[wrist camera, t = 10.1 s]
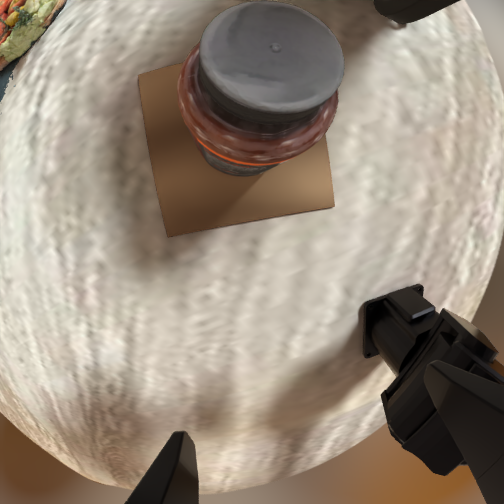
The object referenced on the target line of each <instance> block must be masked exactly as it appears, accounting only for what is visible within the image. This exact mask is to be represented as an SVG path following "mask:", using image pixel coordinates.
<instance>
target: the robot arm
mask: <svg viewBox="0 0 504 504" xmlns="http://www.w3.org/2000/svg"><path fill="white" fill-rule="evenodd" d="M418 289H419V290H418ZM423 291H424V287H423V286H422V285H421V284H416V285H413V286H411V287H406V288H403V289H400V290H398V291H395V292H392V293H389V294H387V295H384V296H381V297H378V298H375V299H372V300H369V301H367V302H366V303H365V305H364V335H363V356H364V357H365V358H370V357H373V356H376V355H378V354H380V355H381V357H382V358H383V359H384V361H385V362H386V363H387V365H388V366H389V368H390V369H391V370H392V372H393V373H394V374H395V376H396V379H395V380H394V381H393V382H392V383H391V385H390V386H389V387H388V388H387V389H386V390H384V391H383V393H382V394H381V399H382V403H383V407H384V411H385V415H386V419H387V423H388V428H389V430H390V433H391V435H392V436H393V437H394V438H395V440H397V441H398V442H399V443H400V444H401V445H402V447H403V449H405V450H407V451H409V452H411V453H413V454H414V455H415V456H417V457H418V458H419V459H421V460H422V461H423V462H424V463H425V465H426V466H427V467H428V468H429V469H430V470H431V471H432V472H433V473H435V474H439V475H443V476H446V475H448V474H449V473H450V472H451V471H453V470H454V469H455V468H456V467H457V466H459V465H468V466H469V468H470V470H471V472H472V474H473V476H474V478H475V479H476V482H477V484H478V486H479V488H480V490H481V493H482V495H483V497H484V499H485V501H486V503H487V504H504V366H503V365H502V364H501V363H500V362H498V361H497V360H496V359H495V358H496V357H497V355H498V353H499V352H498V351H497V349H496V348H495V347H494V345H493V344H492V343H491V342H490V340H489V339H488V338H487V337H486V336H485V334H484V333H483V332H481V331H480V330H479V329H477V328H476V327H475V326H474V325H472V324H471V323H470V322H468V321H467V320H465V319H463V318H461V317H460V316H458V315H456V314H454V313H452V312H450V311H448V310H446V309H445V308H443V309H442V310H441V312H440V314H439V313H438V312H436V311H435V306H433V305H432V304H431V303H430V302H428V301H427V300H426V299H425V298H423ZM370 305H371V307H370V308H369V306H370ZM198 499H199V480H198V470H197V461H196V451H195V444H194V442H193V440H192V439H191V438H190V436H189V435H188V433H187V432H186V431H175V432H173V434H172V435H171V437H170V438H169V440H168V441H167V443H166V444H165V446H164V447H163V449H162V450H161V452H160V453H159V455H158V456H157V458H156V459H155V460H154V462H153V463H152V465H151V466H150V468H149V469H148V471H147V472H146V474H145V475H144V476H143V478H142V479H141V481H140V482H139V484H138V485H137V487H136V488H135V489H134V491H133V492H132V494H131V495H130V497H129V498H128V501H126V502H125V503H124V504H199V500H198Z"/></svg>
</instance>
